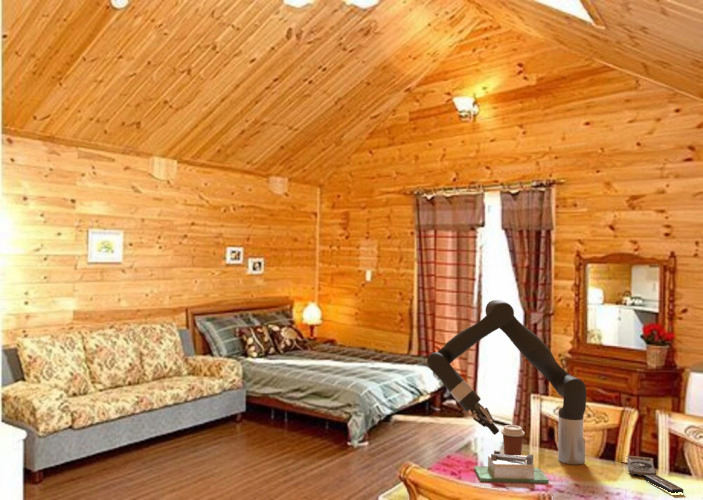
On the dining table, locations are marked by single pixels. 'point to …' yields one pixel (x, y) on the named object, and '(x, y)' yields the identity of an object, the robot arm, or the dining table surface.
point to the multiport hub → (663, 483)
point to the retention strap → (511, 457)
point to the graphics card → (640, 466)
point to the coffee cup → (512, 439)
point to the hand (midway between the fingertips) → (497, 432)
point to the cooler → (510, 470)
